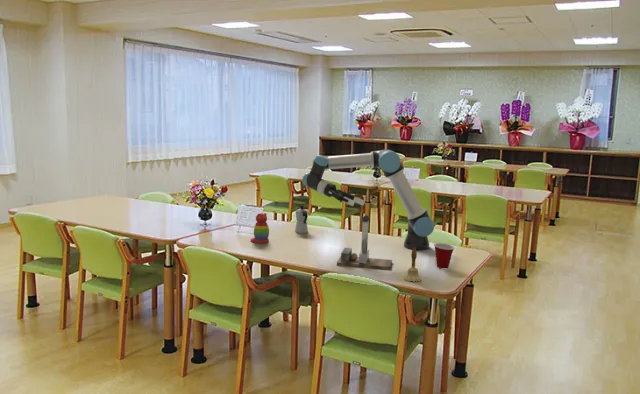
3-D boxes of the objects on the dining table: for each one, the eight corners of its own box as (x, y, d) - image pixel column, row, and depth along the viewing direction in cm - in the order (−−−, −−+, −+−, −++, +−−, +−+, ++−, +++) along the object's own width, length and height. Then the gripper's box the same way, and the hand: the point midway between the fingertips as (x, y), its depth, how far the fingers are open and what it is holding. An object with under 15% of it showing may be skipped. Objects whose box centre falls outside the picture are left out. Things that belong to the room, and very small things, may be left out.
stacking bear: (265, 239, 338) (265, 211, 335) (272, 242, 330) (273, 213, 327) (249, 241, 332) (249, 212, 329) (256, 244, 324) (257, 215, 321)
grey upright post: (368, 258, 295) (370, 213, 291) (366, 263, 284) (368, 217, 280) (361, 257, 296) (363, 213, 292) (358, 263, 285) (360, 216, 281)
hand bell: (402, 276, 269) (404, 245, 267) (418, 277, 270) (420, 245, 268) (406, 282, 261) (408, 250, 259) (423, 282, 262) (425, 250, 259)
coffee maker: (291, 230, 364) (292, 204, 361) (304, 229, 367) (304, 203, 364) (299, 235, 350) (300, 208, 347) (312, 234, 354) (313, 207, 351)
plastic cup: (453, 271, 282) (455, 248, 280) (432, 269, 284) (434, 247, 282) (453, 265, 292) (454, 243, 290) (432, 263, 294) (433, 242, 292)
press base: (391, 262, 294) (392, 250, 293) (390, 269, 281) (390, 257, 280) (340, 258, 300) (341, 246, 298) (336, 265, 286) (337, 253, 285)
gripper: (334, 194, 317) (365, 209, 307) (314, 194, 294) (346, 210, 285) (339, 182, 315) (370, 197, 306) (318, 182, 293) (351, 197, 284)
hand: (359, 203), depth 296 cm, fingers open, 13 cm apart
